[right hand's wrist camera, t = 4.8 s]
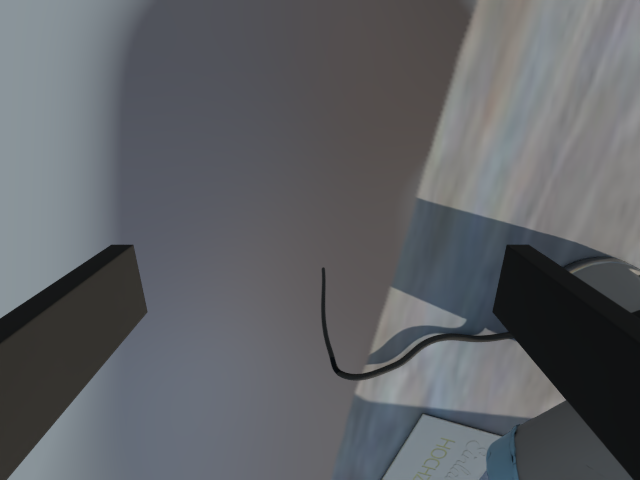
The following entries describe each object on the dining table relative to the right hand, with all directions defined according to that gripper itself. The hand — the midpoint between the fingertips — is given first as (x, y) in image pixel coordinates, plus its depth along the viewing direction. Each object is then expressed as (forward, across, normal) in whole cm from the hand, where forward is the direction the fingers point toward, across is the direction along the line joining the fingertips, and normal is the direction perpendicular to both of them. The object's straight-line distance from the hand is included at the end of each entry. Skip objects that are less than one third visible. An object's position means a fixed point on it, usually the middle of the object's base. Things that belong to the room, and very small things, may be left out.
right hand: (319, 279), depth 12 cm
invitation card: (+28, -19, +50) cm, 60 cm away
